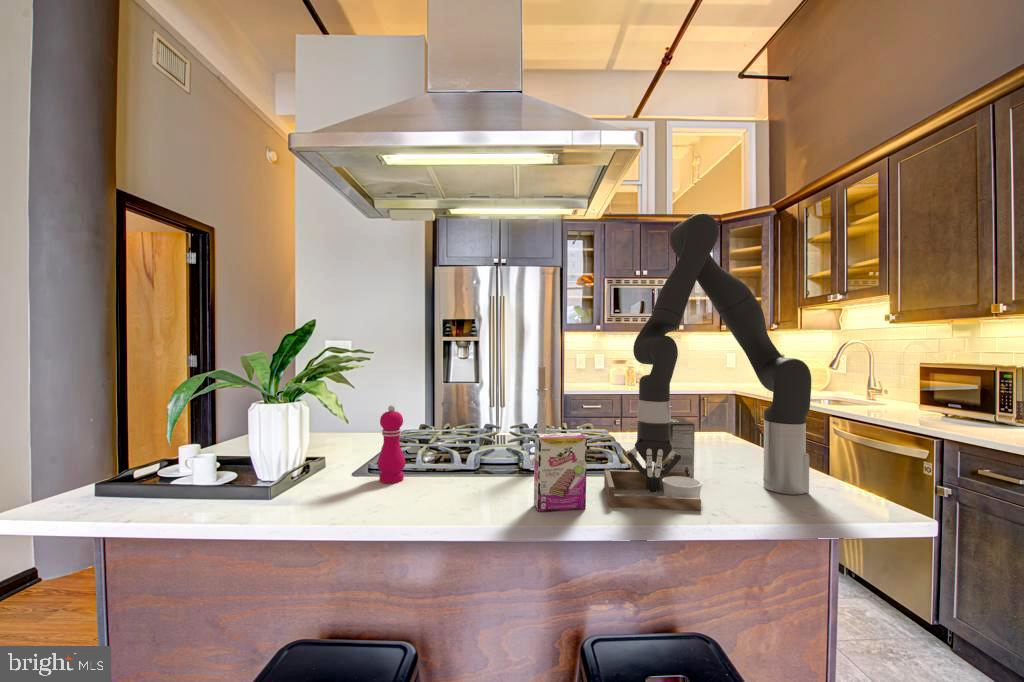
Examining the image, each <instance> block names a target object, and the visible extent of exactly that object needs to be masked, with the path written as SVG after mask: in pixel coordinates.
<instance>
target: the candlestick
mask: <svg viewBox="0 0 1024 682" xmlns="http://www.w3.org/2000/svg"><path fill="white" fill-rule="evenodd" d="M548 390H549V389H548V388H546V366H538V388H536V391H537V396H538V398H539V399H538V405H537V409H538V410H537V424H536V427H537V428H536V434H548V433H547V432H548V431H547V412H546V411H547V409H546V401H545V398H546V396H547V391H548ZM529 457H530V460H531V464H532V465H534V461H535V455H534V456H529ZM521 466H522V463H521V462H520V464H519V467H520V468H521Z"/></svg>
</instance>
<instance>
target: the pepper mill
mask: <svg viewBox="0 0 1024 682" xmlns="http://www.w3.org/2000/svg"><path fill="white" fill-rule="evenodd" d="M387 409H388V410H387V411H385V412H384V413H382V414H381V416H380V419H379V424H380V427H381V428H382V430H381V436H383V444H382V449H381V451H380V454H379V455H378V459H377V468H378V471H380V473H379V475H378V477H379V482H380V483H382V484H397V483H400V482H402V481H403V480H404V477H405V476H404V472H403V471H402V470H404V468H405V467H406V458H405V454H404V453H403V450H402V448H401V442H400V441H401V440H400V437H401V435H402V429H401V427H402V426H403V424H404V418H403V415H402V414H401V412H399V411H396V406H394V405H393V404H391V405H388V408H387Z"/></svg>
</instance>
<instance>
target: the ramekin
mask: <svg viewBox="0 0 1024 682" xmlns="http://www.w3.org/2000/svg"><path fill="white" fill-rule="evenodd" d="M662 483H663V490H664V491H663V496H671V497H695V498H700V499H701V490H702V486H703V483H702V481H700V480H698V479H695V478H694V479H693V478H688V477H681V476H670V477H665V478H663V479H662Z"/></svg>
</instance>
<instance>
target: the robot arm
mask: <svg viewBox="0 0 1024 682" xmlns="http://www.w3.org/2000/svg"><path fill="white" fill-rule="evenodd" d="M719 235H720V228H719V225H718V222H717V220H716V219H715V218H714V217H713V216H712V215H710V214H708V213H704V212H702V213H701V212H700V213H696V214H693V215H691V216H690V217H688V218H686V219H685V220H683V221H682V222H680V223H678V224H676V226H674V227H673V228H672V229H671V231H670V234H669V244H670V247H671V249H672V250H673V253H674V254H675V255H676V257H677V258H678V260H677V263H676V264H675V266H674V268H673V270H672V271H671V273H670V274H669V276H668V277H667V279H666V281H665V283H664V284H663V285H662V288H661V289H660V291H659V293H658V296H657V298H656V301H655V303H654V307H653V309H652V312H651V315H650V317H649V318H648V320H646V322H645V324H644V325H643V327H642V328H641V329H640V331H639V333H638V335H637V336H636V338H635V340H634V344H633V351H632V352H633V357H634V358H635V361H636V362H638V363H640V364H643V365H650V366H651V365H652V367H651V370H650V373H648V374H645V375H642V376H641V377H640V378H639V381H638V405H637V421H636V422H637V423H636V424H637V427H636V428H637V431H636V432H637V433H636V441H635V443H634V447H633V448H631V449H630V450H626V456H627V458H628V459H629V461H631V463H632V464H633V465H634V467H635V468H636V470H637V471H639V472H640V473H641V474H644V475H646V487H647V489H648V490H647V491H649V493H653V494H657V491H659V482H660V476H662V475H667V474H668V473H669V472H670V471H671V469H672V468H673V467H674V466H675V465H676V464H677V462H678V461H679V460H680V459H681V456H680V455H679V454H678V453H677V452H675V451H674V450H672V446H671V444H670V420H671V418H672V416H671V404H670V403H671V402H670V401H671V400H670V394H671V392H670V389H671V387H670V385H671V381H672V378H673V375H674V371H675V368H676V365H677V361H678V356H679V350H678V345H677V342H676V341H675V340H674V339H673V337H672V336H669V335H667V334H668V333H671V332H673V331H676V330H677V329H678V328H679V327H680V325H681V322H682V319H683V316H684V314H685V311H686V308H687V305H688V301H689V299H690V296H691V293H692V291H693V289H694V287H695V284H696V283H698V284H699V286H700V288H701V289H702V290H703V292H704V293H705V295H706V296H707V297H708V299H709V301H710V302H711V303H712V305H713V307H714V309H715V311H716V312H717V314H718V315H719V316H720V318H721V320H722V322H724V324H725V326H726V327H727V328H728V330H729V331H730V333H731V334H732V335H733V337H734V339H735V341H737V343H738V345H739V346H740V347H741V349H742V350H743V352H744V354H745V356H746V357H747V359H748V361H749V363H750V364H751V367H752V369H753V371H754V373H755V375H756V377H757V380H758V381H759V382H760V384H761V385H762V386H763V387H764V388H765V389H767V390H768V391H770V392H772V402H771V404H770V405H769V406H768V407H766V408H765V409H764V412H763V477H762V480H763V487H764V489H766V490H768V491H770V492H773V493H778V494H784V495H794V496H795V495H802V494H809V493H810V454H808V453H807V452H806V451H807V450H806V449H807V448H806V447H807V446H806V445H807V444H806V442H807V441H806V440H807V439H806V437H807V433H806V431H807V429H806V427H807V426H806V425H807V415H808V414H809V412H810V408H811V396H812V374H811V370H810V368H809V366H808V365H807V363H805V362H804V361H803V360H800V359H797V358H794V357H784V355H782V354H781V353H780V351H779V350H778V348H776V346H775V345H774V343H773V342H772V340H771V338H770V336H769V333H768V330H767V325H766V324H767V323H766V319H765V314H764V311H763V309H762V306H761V304H760V303H759V301H758V299H757V298H756V297H755V295H754V294H753V292H752V290H751V289H750V288H749V286H748V285H747V284H746V283H744V282H743V281H742V280H741V279H739V278H737V277H736V276H735V275H733V274H732V273H730V272H729V271H727V270H725V269H724V268H722V267H721V266H720V265H719V264H718V262H716V261H715V259H714V258H713V256H712V255H711V253H712V251H713V250H714V247H715V245H716V243H717V242H718V239H719ZM669 453H670V455H669ZM638 454H639V455H640V458H642V460H643V461H644V464H645V465H644V466H645V467H643V465H642V464H641V463H640V461H639V460H638ZM668 455H669V458H670V459H669V460H668V461H667V462H666V463H665V465H664V466H663V467H662V461H664V460H665V458H666V457H667V456H668Z"/></svg>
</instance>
